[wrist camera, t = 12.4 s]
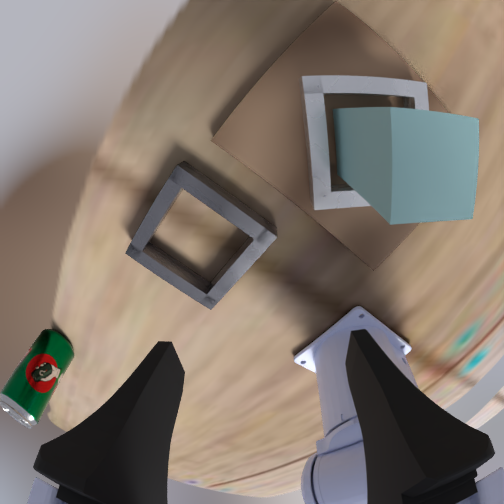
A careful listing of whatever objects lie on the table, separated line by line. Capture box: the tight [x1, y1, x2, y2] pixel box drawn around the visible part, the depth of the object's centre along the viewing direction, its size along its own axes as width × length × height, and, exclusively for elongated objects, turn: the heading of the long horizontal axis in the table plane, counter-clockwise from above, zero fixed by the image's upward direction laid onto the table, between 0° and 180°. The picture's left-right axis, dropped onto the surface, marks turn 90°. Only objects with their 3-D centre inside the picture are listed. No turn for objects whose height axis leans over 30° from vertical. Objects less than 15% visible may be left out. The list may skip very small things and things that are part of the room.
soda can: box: [0, 329, 74, 429], centre depth 21 cm, size 5×5×12 cm
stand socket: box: [126, 161, 277, 310], centre depth 19 cm, size 8×8×2 cm
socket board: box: [211, 1, 448, 271], centre depth 15 cm, size 14×12×2 cm
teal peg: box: [333, 107, 479, 225], centre depth 11 cm, size 4×4×8 cm
